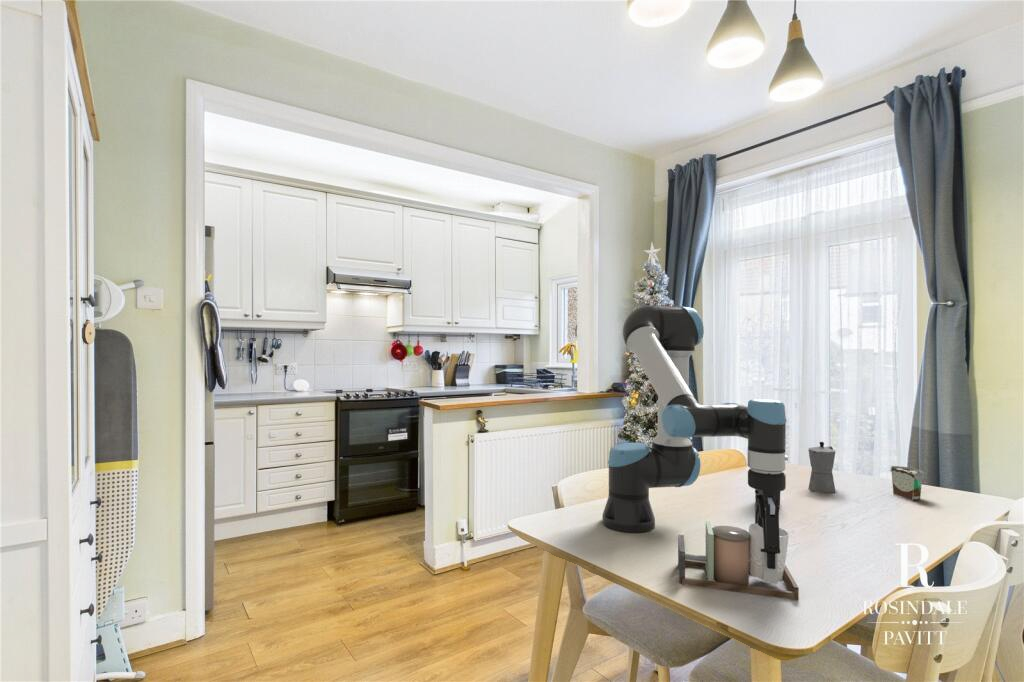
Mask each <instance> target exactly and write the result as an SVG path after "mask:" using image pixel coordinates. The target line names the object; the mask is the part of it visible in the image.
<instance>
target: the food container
mask: <svg viewBox="0 0 1024 682" xmlns="http://www.w3.org/2000/svg"><path fill="white" fill-rule="evenodd" d="M889 471H890V472H891V483H892V493H893V495H895V496H898V497H900V496H901V497H900V498H903V499H905V498H906V500H908V499H909V501H911V502H919V501H921V493H922V484H923V480H924V479H925V474H924V472H923V471H922V470H920V469H917V468H913V467H906V466H898V465H891V467H890V470H889Z"/></svg>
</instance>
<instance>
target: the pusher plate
mask: <svg viewBox="0 0 1024 682" xmlns="http://www.w3.org/2000/svg"><path fill="white" fill-rule="evenodd" d="M712 528H713V527H712V524H711V521H705V555H701V554H699V555H698V554H691V553H685V559H687V560H696V561H704V562H706V565H705V568H704V569H705V571H706V577H707V578H706V579H707V581H714V534H713V530H712ZM714 582H715V581H714Z"/></svg>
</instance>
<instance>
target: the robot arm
mask: <svg viewBox="0 0 1024 682" xmlns="http://www.w3.org/2000/svg"><path fill="white" fill-rule="evenodd" d="M704 330H705V328H704V322H703V320H702V317H701V315H700V313H698V311H697V310H696V309H694V307H688V306H682V305H681V306H680V305H675V306H674V305H672V306H670V305H648V304H647V305H642V306H639V307H638V308H635V309H634V310H632V311H631V313H629V315H628V316H627V317H626V319H625V321H624V323H623V327H622V338H623V342H624V343H625V346H626V348H627V349H628V350H629V352H631V353H632V354H634V355H635V356H636V358H637V360H638V362H639V364H640V366H641V367H642V369H643V371H644V372H645V375H646V377H647V379H648V380H649V382H650V384H651V386H652V388H653V389H654V392H655V393H656V395H657V397H658V399H657V400H658V401H657V431H656V432H657V434H656V436H654V438H652V440H651V447H650V445H649V444H648V443H645V442H639V441H638V442H625V443H619V444H616V445H614V446H612V447H611V448H610V450H609V452H608V453H609V454H608V462H607V464H608V497H607V499H606V502H605V503H606V504H605V506H604V508H603V512H602V521H601V522H602V524H603V525H604V526H605V527H606V528H609V529H611V530H615V531H618V532H624V533H645V532H650V531H653V530H654V529H655V527H656V519H655V515H654V512H653V508H652V504H651V502H650V498H649V497H650V489H653V488H654V489H655V488H657V489H658V488H673V487H674V488H682V487H686V486H687V487H688V486H691V485H692V484H694V483H695V482H696V481H697V479H698V478H699V476H700V472H701V459H700V458H701V457H699V456H700V454H699V452H698V450H697V449H696V448H695V447H694V446H693V442H692V441H691V440H690V439H689V438H706V437H708V438H709V437H711V438H713V437H739V438H743V439H747V467H749V469H748V470H747V485H748V487H750V488H751V489H754V493H755V495H754V498H755V499H754V500H755V504H754V505H755V506H754V507H755V508H754V512H755V513H754V524H755V523H758V525H759V526H760V527H762V528H763V534H764V549H761V552H763V580H762V582H763V583H766V584H768V583H769V584H775V585H778V584H779V583H778V582H779V581H778V554H780V541H779V528H780V505H778V499H776V498H775V492H777V491H780V492H783V491H784V490H786V487H787V484H786V483H787V482H786V478H787V477H786V473H785V472H784V471H785V470H786V461H788V460H789V456H788V455H786V438H787V437H786V433H787V432H786V429H787V426H786V425H787V419H786V417H787V416H786V406H785V404H784V402H782V401H781V400H776V399H763V398H760V399H759V398H756V399H750V400H748V402H747V405H744V404H743V405H742V404H739V403H734V402H723V403H720V404H699V402H698V400H697V399H696V397H695V395H694V394H693V392H692V391H691V389H690V388H689V381H690V380H689V375H690V374H689V373H690V371H689V369H690V357H691V356H692V355H693V354H694V353H695V347H696V346H698V345H699V344H701V342H702V341H703V340H702V339H703V338H704V333H705V332H704ZM770 546H771V547H770Z"/></svg>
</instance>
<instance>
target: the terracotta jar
mask: <svg viewBox="0 0 1024 682" xmlns="http://www.w3.org/2000/svg"><path fill="white" fill-rule="evenodd" d="M712 530H713V534H714V582H722V583H730V584H738V585H745V586H750V585H749V584H750V581H749V580H750V573H749V539H750V534H749V531H747V529H743V528H740V527H737V526H731V525H716V526H713V527H712Z"/></svg>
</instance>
